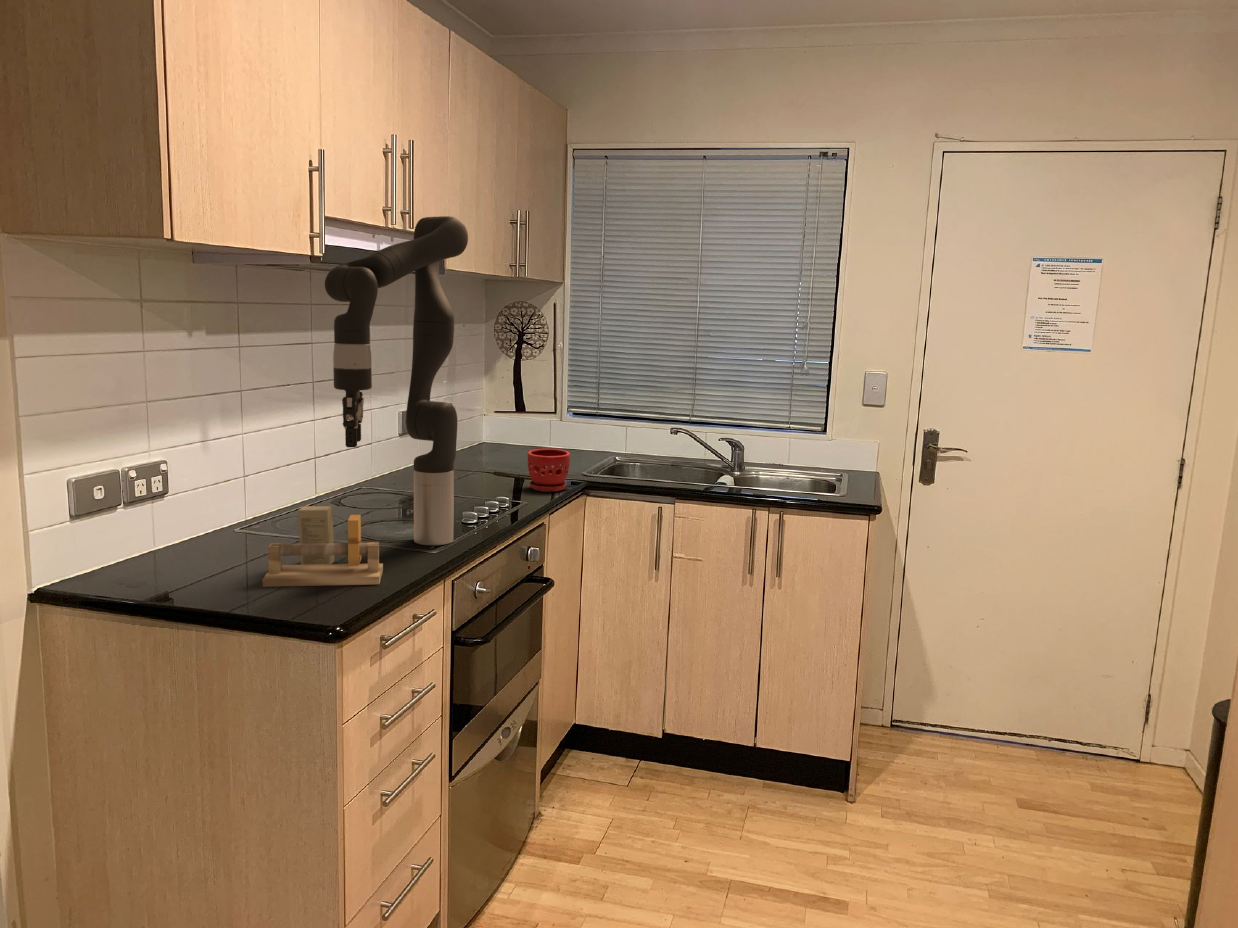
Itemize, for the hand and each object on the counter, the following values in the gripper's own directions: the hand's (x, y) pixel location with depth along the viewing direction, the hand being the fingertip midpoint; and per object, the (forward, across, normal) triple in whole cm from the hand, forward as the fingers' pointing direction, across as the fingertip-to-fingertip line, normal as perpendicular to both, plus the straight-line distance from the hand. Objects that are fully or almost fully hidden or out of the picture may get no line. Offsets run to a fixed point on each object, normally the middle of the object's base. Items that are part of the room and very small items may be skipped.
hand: (353, 444), depth 189 cm
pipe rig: (+26, -9, +5) cm, 28 cm away
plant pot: (+26, +83, -50) cm, 101 cm away
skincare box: (+26, +2, +8) cm, 28 cm away
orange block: (+23, -9, -1) cm, 25 cm away
